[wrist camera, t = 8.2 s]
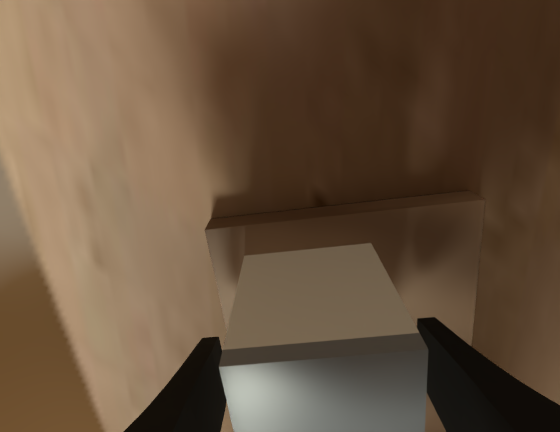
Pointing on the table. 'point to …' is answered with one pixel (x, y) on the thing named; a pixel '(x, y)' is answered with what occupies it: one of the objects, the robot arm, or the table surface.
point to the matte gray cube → (322, 346)
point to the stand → (387, 243)
